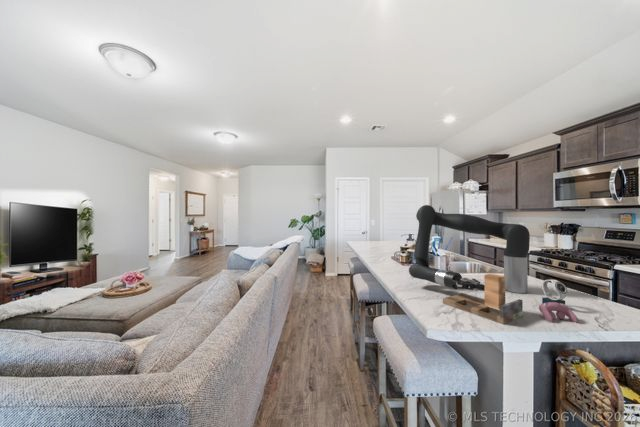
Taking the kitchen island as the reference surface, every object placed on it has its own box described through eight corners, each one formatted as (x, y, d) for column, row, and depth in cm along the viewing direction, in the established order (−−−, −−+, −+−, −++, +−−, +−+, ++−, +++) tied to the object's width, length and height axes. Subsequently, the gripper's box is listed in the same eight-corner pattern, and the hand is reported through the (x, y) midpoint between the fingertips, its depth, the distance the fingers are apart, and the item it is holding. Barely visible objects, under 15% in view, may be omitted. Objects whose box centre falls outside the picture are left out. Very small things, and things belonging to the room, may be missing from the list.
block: (491, 302, 100) (491, 273, 100) (505, 306, 96) (505, 276, 96) (484, 304, 98) (484, 274, 98) (498, 309, 93) (498, 277, 93)
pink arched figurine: (570, 323, 89) (561, 303, 92) (581, 322, 85) (572, 301, 88) (541, 322, 90) (534, 302, 93) (550, 321, 85) (543, 300, 89)
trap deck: (462, 297, 112) (462, 284, 112) (522, 315, 92) (522, 300, 92) (442, 303, 105) (442, 289, 105) (503, 324, 85) (503, 307, 85)
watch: (558, 310, 96) (558, 283, 96) (538, 303, 104) (537, 277, 104) (571, 310, 97) (570, 282, 97) (549, 302, 105) (549, 277, 105)
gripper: (438, 272, 111) (478, 281, 96) (456, 269, 117) (496, 277, 102) (439, 289, 111) (478, 300, 96) (456, 284, 117) (496, 295, 102)
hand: (488, 288), depth 99 cm, fingers closed
